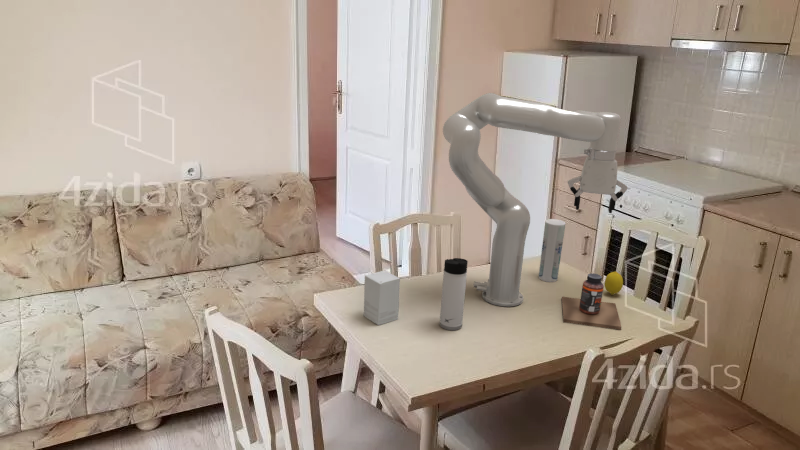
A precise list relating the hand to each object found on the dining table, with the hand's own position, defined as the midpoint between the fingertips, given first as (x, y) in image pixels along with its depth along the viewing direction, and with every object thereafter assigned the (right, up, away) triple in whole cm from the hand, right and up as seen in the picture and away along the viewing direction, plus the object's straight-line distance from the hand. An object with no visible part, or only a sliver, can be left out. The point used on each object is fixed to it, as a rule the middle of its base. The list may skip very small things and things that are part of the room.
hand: (593, 210), depth 194 cm
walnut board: (-2, -31, -4) cm, 31 cm away
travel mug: (-44, -33, -15) cm, 57 cm away
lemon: (+9, -27, +11) cm, 30 cm away
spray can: (-9, -23, +21) cm, 32 cm away
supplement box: (-64, -31, -12) cm, 72 cm away
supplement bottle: (-2, -30, -4) cm, 30 cm away
